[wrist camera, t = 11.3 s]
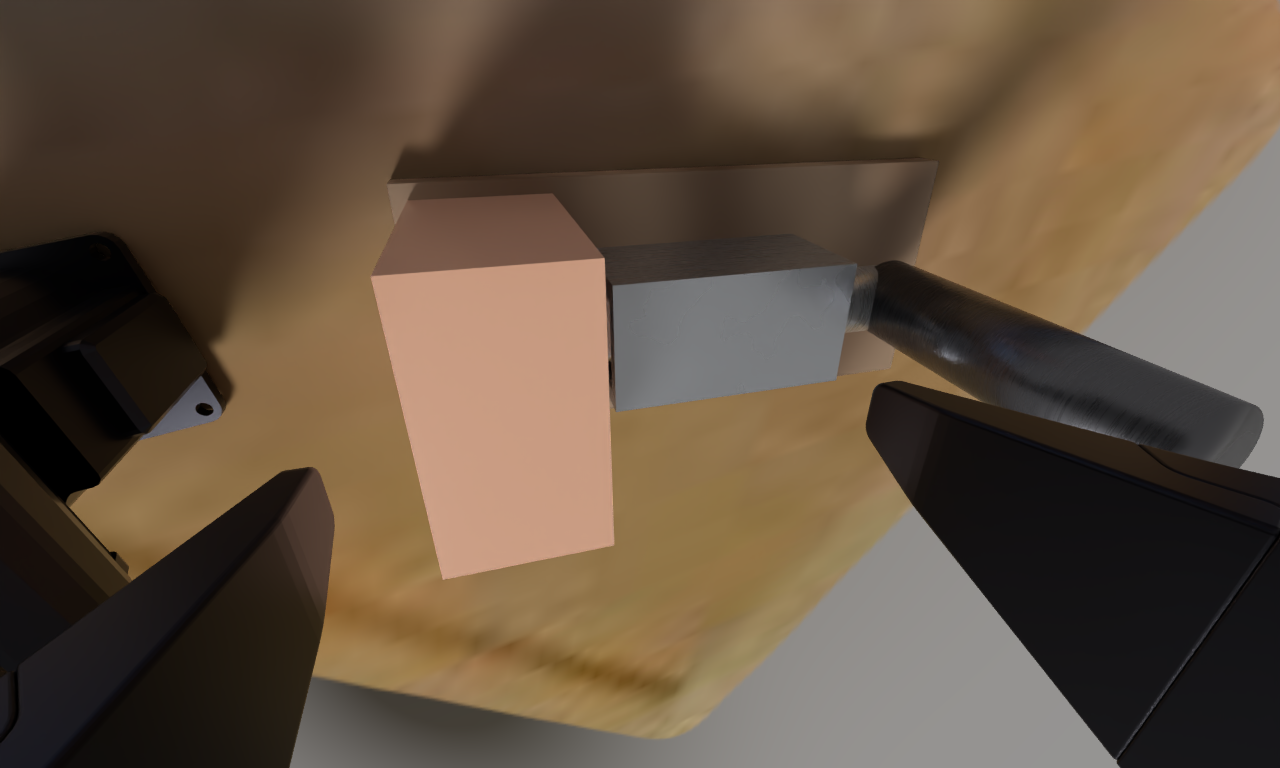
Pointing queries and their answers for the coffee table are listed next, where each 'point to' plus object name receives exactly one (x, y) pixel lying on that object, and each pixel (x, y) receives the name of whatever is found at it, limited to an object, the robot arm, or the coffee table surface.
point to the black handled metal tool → (1044, 366)
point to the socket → (501, 376)
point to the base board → (734, 211)
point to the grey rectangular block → (723, 317)
